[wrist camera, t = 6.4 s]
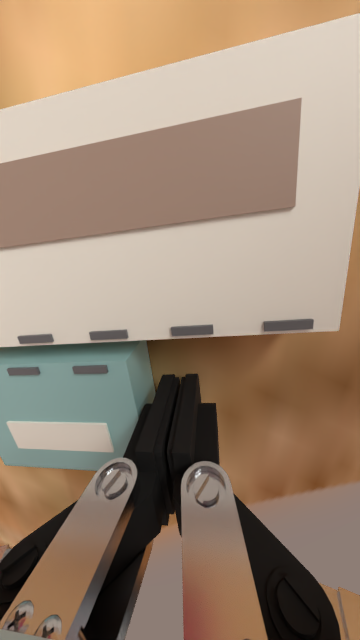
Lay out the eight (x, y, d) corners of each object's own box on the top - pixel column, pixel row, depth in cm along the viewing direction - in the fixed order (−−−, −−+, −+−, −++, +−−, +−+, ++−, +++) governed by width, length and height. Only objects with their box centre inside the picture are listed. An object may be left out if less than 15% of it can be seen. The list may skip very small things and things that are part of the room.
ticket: (321, 93, 6) (390, -1, 4) (303, 308, 9) (341, 332, 6) (-113, 188, 9) (-227, 167, 7) (-44, 331, 12) (-112, 353, 9)
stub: (145, 334, 10) (124, 362, 8) (162, 429, 12) (150, 476, 9) (6, 341, 11) (-50, 367, 9) (41, 426, 13) (3, 467, 11)
